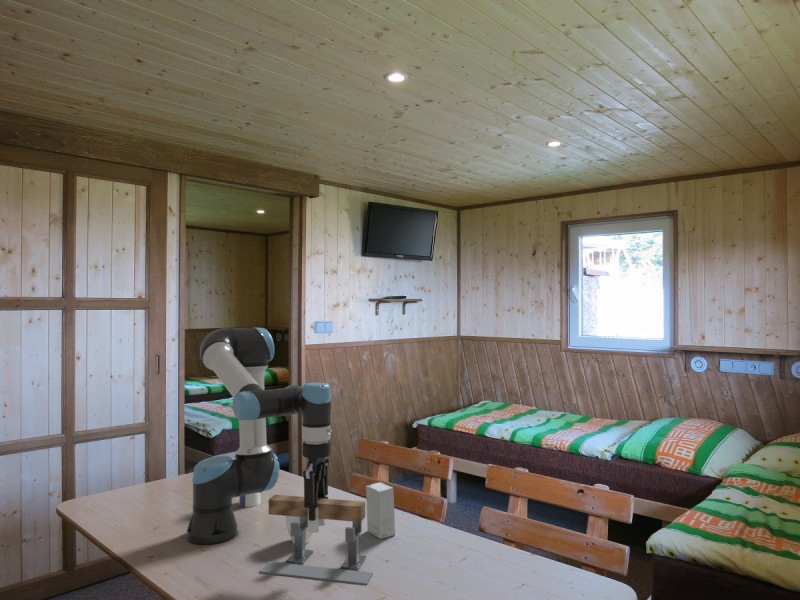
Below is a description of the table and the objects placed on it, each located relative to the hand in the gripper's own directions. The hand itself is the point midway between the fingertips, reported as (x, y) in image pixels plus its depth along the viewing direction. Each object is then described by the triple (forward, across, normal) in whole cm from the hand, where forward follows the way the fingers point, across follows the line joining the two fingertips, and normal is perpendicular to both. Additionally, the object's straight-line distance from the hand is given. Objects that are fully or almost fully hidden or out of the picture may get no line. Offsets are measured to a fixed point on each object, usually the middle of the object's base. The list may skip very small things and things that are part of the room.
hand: (316, 528), depth 153 cm
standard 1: (+12, +8, +8) cm, 17 cm away
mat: (+12, 0, 0) cm, 12 cm away
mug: (+12, +20, +12) cm, 26 cm away
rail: (-3, 0, 0) cm, 3 cm away
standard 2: (+12, +8, -8) cm, 17 cm away
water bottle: (+12, +46, +43) cm, 64 cm away
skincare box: (+12, +30, -10) cm, 34 cm away
